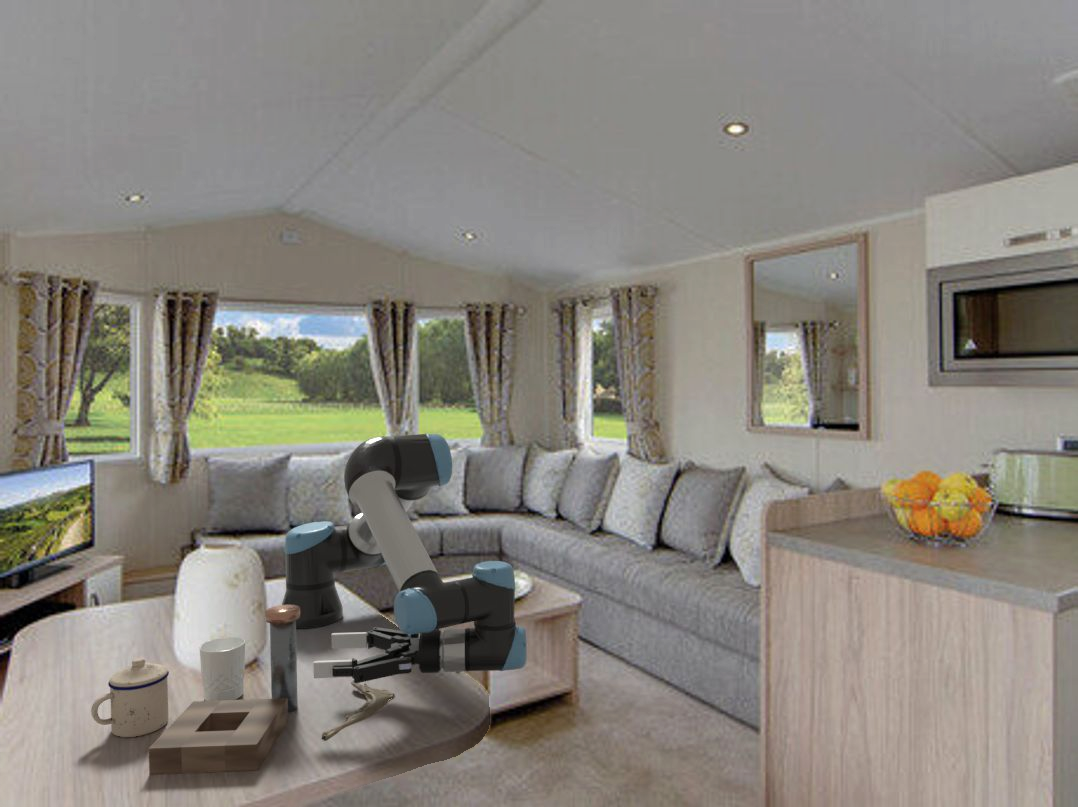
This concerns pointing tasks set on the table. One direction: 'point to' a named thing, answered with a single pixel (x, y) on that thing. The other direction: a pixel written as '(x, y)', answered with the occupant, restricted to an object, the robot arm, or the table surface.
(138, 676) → the teacup with lid
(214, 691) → the white cup
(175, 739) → the socket block
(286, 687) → the metal pin
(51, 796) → the table surface
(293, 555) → the robot arm
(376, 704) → the jawbone
